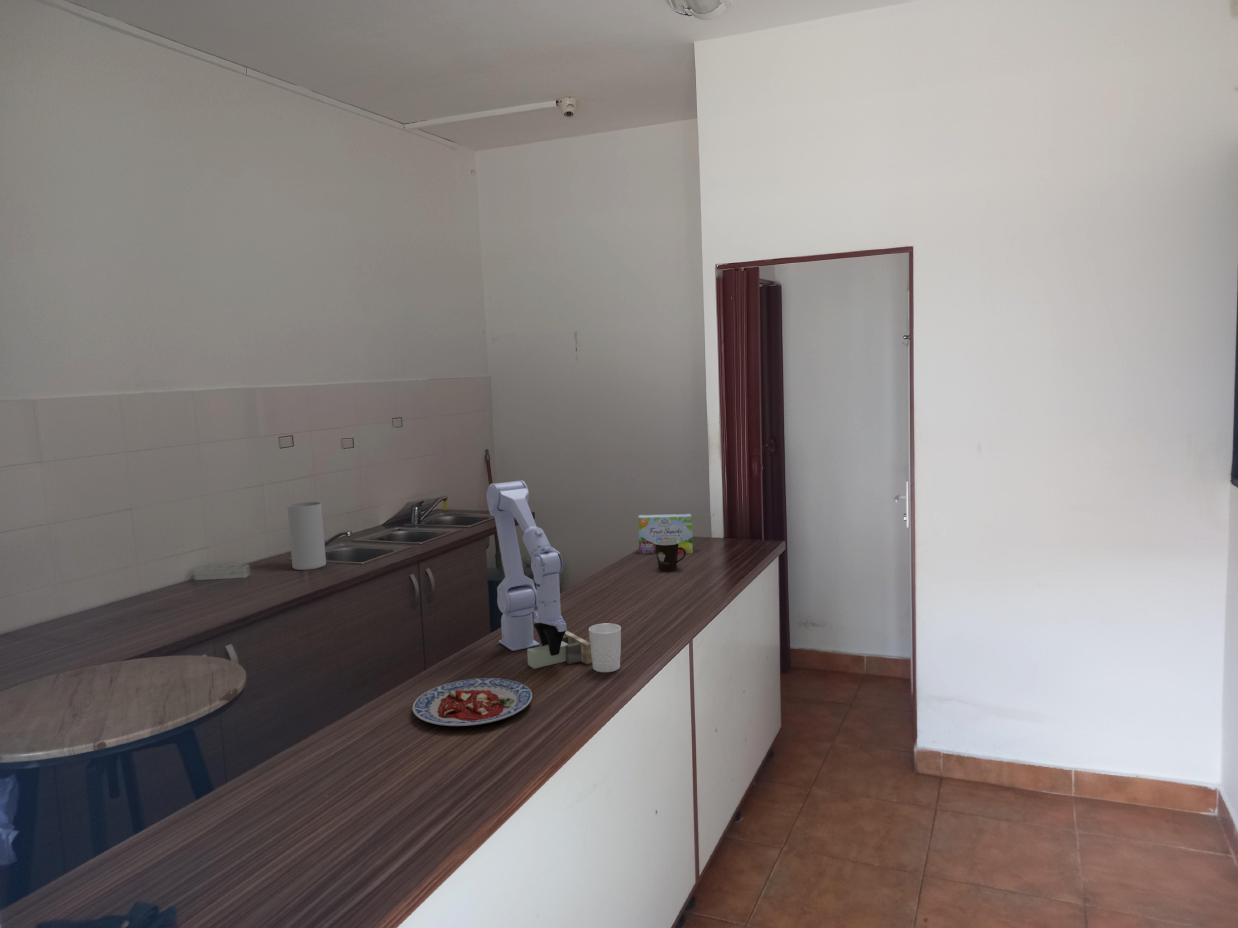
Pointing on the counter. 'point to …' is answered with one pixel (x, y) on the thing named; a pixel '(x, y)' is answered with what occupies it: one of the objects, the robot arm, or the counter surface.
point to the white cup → (605, 647)
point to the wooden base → (576, 649)
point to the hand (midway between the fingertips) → (551, 652)
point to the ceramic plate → (472, 702)
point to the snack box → (665, 531)
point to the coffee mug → (668, 555)
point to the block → (545, 656)
